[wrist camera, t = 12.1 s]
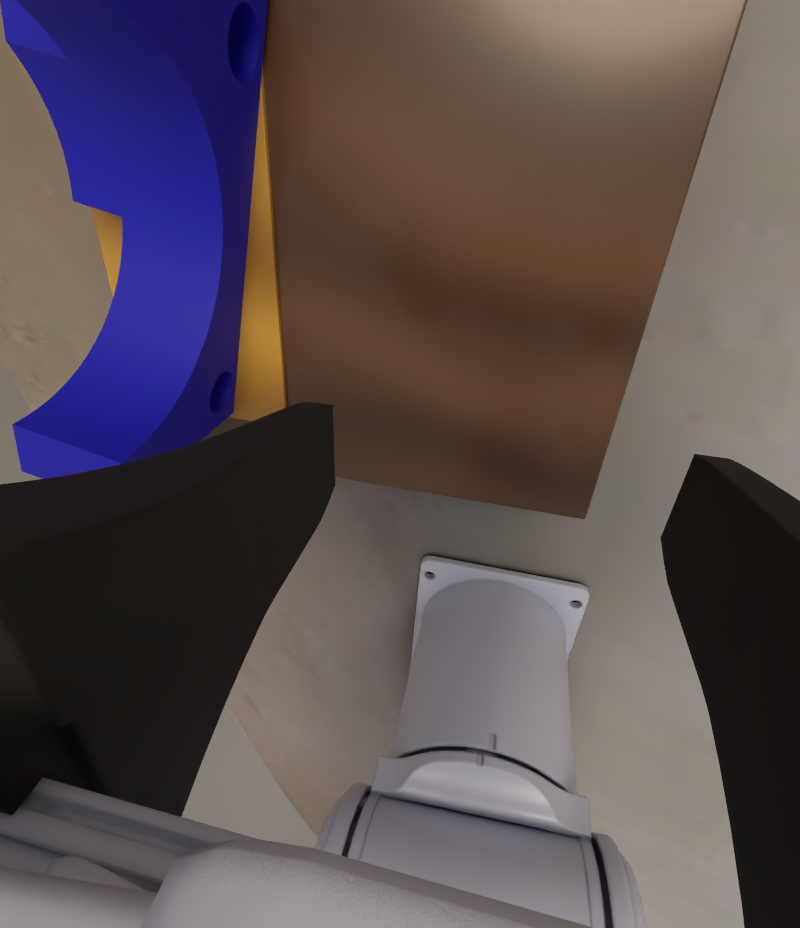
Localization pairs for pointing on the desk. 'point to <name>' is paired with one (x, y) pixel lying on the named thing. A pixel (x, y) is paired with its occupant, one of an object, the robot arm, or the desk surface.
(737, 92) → the desk surface
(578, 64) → the walnut stand
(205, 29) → the cable clip
